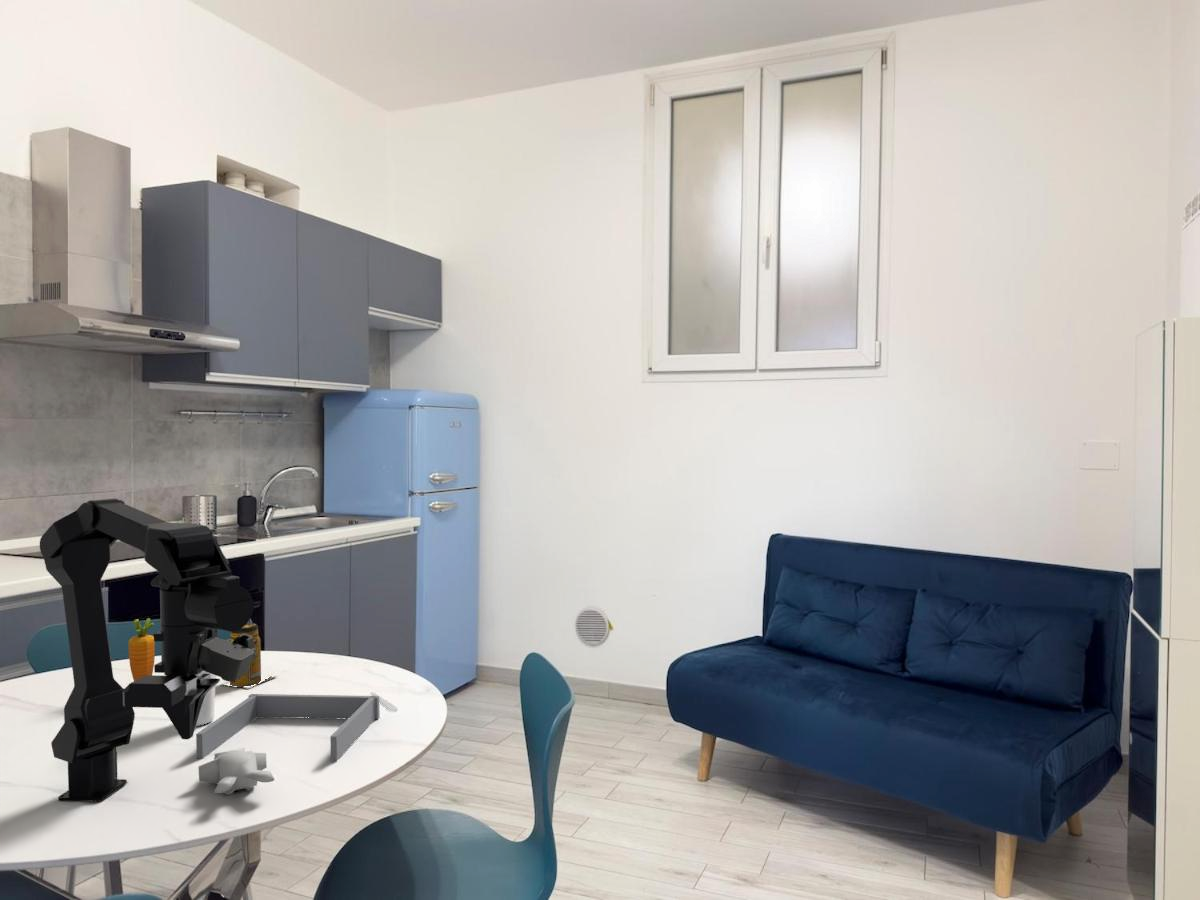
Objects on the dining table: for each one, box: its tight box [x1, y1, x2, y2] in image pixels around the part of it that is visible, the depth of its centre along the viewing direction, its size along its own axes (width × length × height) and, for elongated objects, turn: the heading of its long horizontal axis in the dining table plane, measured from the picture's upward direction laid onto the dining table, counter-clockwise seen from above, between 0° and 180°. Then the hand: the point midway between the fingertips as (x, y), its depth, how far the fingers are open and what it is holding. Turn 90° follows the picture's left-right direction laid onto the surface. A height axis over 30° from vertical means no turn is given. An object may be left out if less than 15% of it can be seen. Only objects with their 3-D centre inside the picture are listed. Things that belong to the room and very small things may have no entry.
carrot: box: [128, 617, 156, 682], centre depth 171 cm, size 5×5×15 cm
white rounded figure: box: [198, 747, 275, 796], centre depth 127 cm, size 10×5×15 cm
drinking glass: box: [196, 673, 217, 727], centre depth 154 cm, size 7×7×15 cm
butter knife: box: [369, 691, 399, 712], centre depth 171 cm, size 1×27×3 cm
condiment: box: [224, 622, 278, 690], centre depth 178 cm, size 7×8×12 cm
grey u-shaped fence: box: [195, 693, 381, 762], centre depth 147 cm, size 20×24×4 cm
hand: (187, 738), depth 114 cm, fingers closed
